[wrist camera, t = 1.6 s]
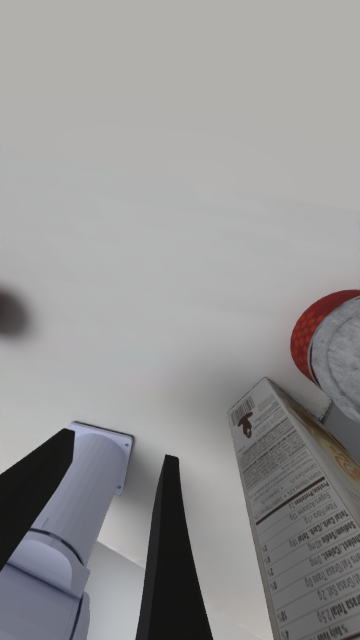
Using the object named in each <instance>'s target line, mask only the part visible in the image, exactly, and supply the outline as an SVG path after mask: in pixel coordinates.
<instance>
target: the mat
mask: <svg viewBox="0 0 360 640" xmlns="http://www.w3.org/2000/svg"><path fill="white" fill-rule="evenodd" d="M322 424H323V425H325V426H326V427H327V428H328V429H329V430H330V431H331V432H332V434H333V435H334V436H335V437H336V438H337V439H338V440H339V441H340V442H341V443H342V445H343V446H344V447H345V448H346V449H347V450H348V451H349V453H350V454H351V455H352V456H353V457H354V458H355V460H356V461H357V462H358V463H359V464H360V424H359V423H357V422H355V421H354V420H352V419H351V418H349V417H347V416H346V415H345V414H344V413H343V412H342V411H341V410H340V409H339V408H338V407H337V405H336V404H335V403H334V402H333V401H332V403H331V405H330V407H329V409H328V411H327V413H326V415H325V417H324V419H323V421H322Z"/></svg>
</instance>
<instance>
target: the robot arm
mask: <svg viewBox="0 0 360 640" xmlns="http://www.w3.org/2000/svg"><path fill="white" fill-rule="evenodd" d="M132 441H133V439H132V437H130V436H127V435H123V434H119V433H115V432H111V431H107V430H103V429H99V428H95V427H91V426H87V425H83V424H79V423H75V422H71V423H70V424H69V425H68V429H65V428H64V429H62V430H60V431H59V432H58V433H56V434H55V435H54V436H52V437H51V438H50V439H49V440H47V441H46V442H45V443H43V444H42V445H41V446H39V447H38V448H36V449H35V450H34V451H32V452H31V453H30V454H28V455H27V456H26V457H24V458H23V459H21V460H20V461H19V462H17V463H16V464H14V465H13V466H12V467H10V468H9V469H7V470H6V471H5V472H3V473H2V474H0V640H86V638H87V633H88V628H89V621H90V610H89V604H90V599H89V595H88V593H86V592H84V588H85V585H86V583H87V580H88V577H89V574H90V570H89V569H87V568H86V566H87V563H88V561H89V558H90V556H91V554H92V551H93V548H94V545H95V543H96V540H97V538H98V535H99V532H100V530H101V527H102V524H103V522H104V519H105V516H106V514H107V511H108V508H109V506H110V503H111V500H112V498H113V495H114V494H115V495H121V494H122V492H123V488H124V483H125V478H126V473H127V467H128V462H129V457H130V452H131V447H132ZM135 640H213V637H212V633H211V629H210V625H209V621H208V618H207V614H206V610H205V606H204V602H203V598H202V594H201V590H200V586H199V582H198V577H197V573H196V568H195V564H194V559H193V555H192V550H191V545H190V540H189V535H188V529H187V524H186V518H185V512H184V506H183V499H182V491H181V483H180V472H179V459H178V457H175V456H171V455H167V454H166V455H165V459H164V462H163V466H162V470H161V474H160V478H159V482H158V487H157V492H156V497H155V502H154V508H153V513H152V521H151V530H150V538H149V546H148V554H147V562H146V571H145V580H144V587H143V595H142V602H141V609H140V616H139V622H138V628H137V634H136V639H135Z"/></svg>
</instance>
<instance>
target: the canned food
mask: <svg viewBox="0 0 360 640" xmlns="http://www.w3.org/2000/svg"><path fill="white" fill-rule="evenodd" d="M290 349H291V354H292V358H293V360H294V363H295V365H296V366H297V367H298V369H299V370H300V371H301V372H302V373H303V374H304V375H305V376H306V377H308V378H309V379H310V380H311V381H312V382H314V383H315V384H316V385H317V386H318V387H319V388H320V389H321V390H322V391H323V392H325V394H326V395H327V396H328V397H329V398H330V399H331V400H332V401H333V402H334V403H335V404H336V405H337V407H338V408H339V409H340V410H341V411H342V412H343V413H344V414H345V415H346V416H347V417H349V418H351V419H352V420H354V421H355V422H357V423H359V424H360V290H343V291H339V292H336V293H332V294H330V295H327V296H325V297H323V298H321V299H320V300H318V301H317V302H315V303H314V304H312V305H311V306H310V307H309V308H308V309H307V310H306V311H305V312H304V313H303V314H302V315H301V317H300V318H299V320H298V321H297V323H296V325H295V327H294V329H293V332H292V336H291V345H290Z"/></svg>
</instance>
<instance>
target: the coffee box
mask: <svg viewBox="0 0 360 640" xmlns="http://www.w3.org/2000/svg"><path fill="white" fill-rule="evenodd" d="M228 419H229V424H230V428H231V433H232V438H233V443H234V448H235V453H236V458H237V462H238V468H239V472H240V478H241V482H242V487H243V491H244V497H245V502H246V507H247V512H248V516H249V521H250V526H251V531H252V536H253V541H254V545H255V550H256V555H257V560H258V564H259V569H260V574H261V579H262V584H263V588H264V593H265V598H266V603H267V608H268V613H269V618H270V623H271V628H272V633H273V638H274V640H360V464H359V463H358V462H357V461H356V460H355V458H354V457H353V456H352V455H351V454H350V453H349V451H348V450H347V449H346V448H345V447H344V446H343V445H342V443H341V442H340V441H339V440H338V439H337V438H336V437H335V436H334V435H333V434H332V432H331V431H330V430H329V429H328V428H327V427H326V426H325V425H323V424H322V423H321V422H320V421H318V420H317V419H316V418H315V417H314V416H312V415H311V414H310V413H309V412H307V411H306V410H305V409H304V408H303V407H301V406H300V405H299V404H298V403H296V402H295V401H294V400H293V399H292V398H290V397H289V396H288V395H287V394H286V393H284V392H283V391H282V390H281V389H279V388H278V387H277V386H276V385H275V384H273V383H272V382H271V381H270V380H268V379H267V378H264V379H262V380H261V381H260V382H259V383H258V384H257V385H256V386H255V387H254V388H253V389H252V390H251V391H250V392H249V393H248V394H247V395H246V396H244V397H243V398H242V399H241V400H240V401H239V402H238V403H237V404H236V405H235V406H234V407H233V408H232V409H231V410H230V411H229V412H228Z"/></svg>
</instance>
